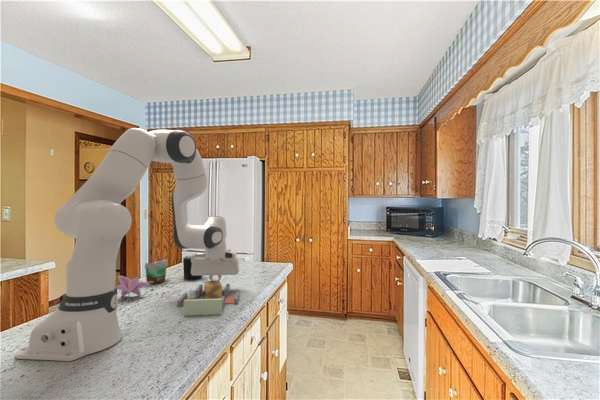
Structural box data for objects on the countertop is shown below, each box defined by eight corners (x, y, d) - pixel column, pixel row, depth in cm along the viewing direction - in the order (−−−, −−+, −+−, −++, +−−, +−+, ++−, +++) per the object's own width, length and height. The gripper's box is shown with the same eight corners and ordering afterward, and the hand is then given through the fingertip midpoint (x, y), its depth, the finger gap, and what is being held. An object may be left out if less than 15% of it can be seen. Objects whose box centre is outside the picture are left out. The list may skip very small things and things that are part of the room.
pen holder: (186, 275, 153) (187, 256, 153) (205, 275, 153) (205, 256, 153) (180, 280, 143) (180, 259, 143) (200, 280, 144) (200, 259, 144)
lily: (154, 299, 120) (153, 275, 124) (134, 296, 109) (133, 271, 113) (126, 307, 121) (126, 284, 125) (104, 305, 110) (104, 280, 114)
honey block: (206, 299, 117) (206, 286, 117) (204, 293, 125) (204, 281, 125) (221, 297, 120) (221, 285, 120) (219, 292, 127) (219, 280, 127)
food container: (156, 286, 134) (156, 264, 134) (144, 285, 135) (144, 263, 135) (173, 279, 146) (173, 258, 146) (162, 278, 147) (162, 258, 147)
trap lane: (169, 316, 100) (169, 301, 100) (188, 292, 126) (188, 280, 126) (235, 313, 103) (235, 299, 103) (240, 290, 128) (240, 278, 128)
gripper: (189, 254, 125) (188, 287, 125) (238, 254, 128) (238, 286, 128) (192, 252, 131) (192, 283, 131) (239, 251, 134) (239, 282, 134)
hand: (215, 285), depth 130 cm, fingers closed
